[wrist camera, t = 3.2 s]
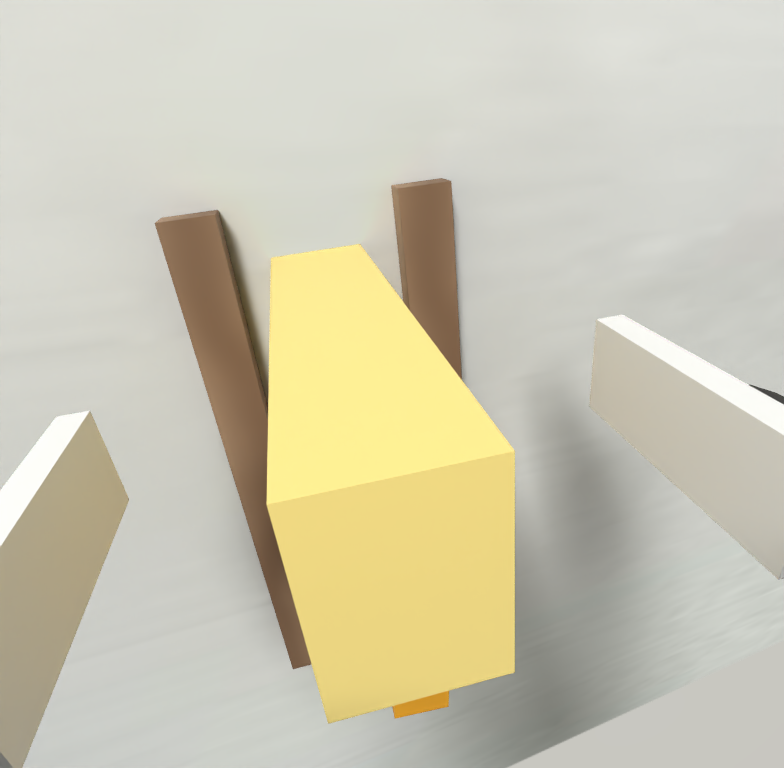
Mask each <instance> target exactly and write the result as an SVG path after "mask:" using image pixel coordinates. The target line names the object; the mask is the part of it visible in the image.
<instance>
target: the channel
mask: <svg viewBox="0 0 784 768" xmlns="http://www.w3.org/2000/svg"><path fill="white" fill-rule="evenodd" d="M391 186H392V196H393V206H394V215H395V225H396V235H397V244H398V254H399V264H400V274H401V283H402V293H403V302H404V304H405V305H406V306H407V308H408V309H409V310H410V312H411V313H412V314H413V316H414V317H415V318H416V320H417V321H418V322H419V324H420V325H421V326H422V328H423V329H424V330H425V332H426V333H427V334H428V336H429V337H430V338H431V340H432V341H433V342H434V344H435V345H436V346H437V348H438V349H439V350H440V352H441V353H442V354H443V356H444V357H445V358H446V360H447V361H448V363H449V364H450V365H451V367H452V368H453V369H454V371H455V372H456V373H457V375H458V376H459V377H460V379H461V380H462V376H461V357H460V338H459V319H458V300H457V281H456V262H455V243H454V225H453V206H452V187H451V181H449V180H446V179H442V178H441V179H433V180H426V181H419V182H412V183H405V184H398V185H391ZM155 226H156V229H157V232H158V235H159V239H160V242H161V245H162V248H163V251H164V255H165V258H166V261H167V264H168V268H169V271H170V274H171V277H172V281H173V284H174V287H175V290H176V293H177V297H178V300H179V303H180V306H181V310H182V313H183V316H184V319H185V322H186V326H187V329H188V332H189V335H190V339H191V342H192V345H193V348H194V351H195V355H196V358H197V361H198V364H199V368H200V371H201V374H202V377H203V380H204V384H205V387H206V390H207V393H208V397H209V400H210V403H211V406H212V409H213V413H214V416H215V419H216V422H217V426H218V429H219V432H220V435H221V438H222V442H223V445H224V448H225V451H226V455H227V458H228V461H229V464H230V468H231V471H232V474H233V477H234V480H235V484H236V487H237V490H238V493H239V497H240V500H241V503H242V506H243V509H244V513H245V516H246V519H247V522H248V526H249V529H250V532H251V535H252V538H253V542H254V545H255V548H256V551H257V555H258V558H259V561H260V564H261V567H262V571H263V574H264V577H265V580H266V584H267V587H268V590H269V593H270V596H271V600H272V603H273V606H274V609H275V613H276V616H277V619H278V622H279V626H280V629H281V632H282V635H283V638H284V642H285V645H286V648H287V651H288V655H289V658H290V661H291V664H292V667H293V669H295V668H299V667H303V666H307V665H311V660H310V657H309V653H308V650H307V646H306V643H305V639H304V636H303V632H302V629H301V625H300V621H299V618H298V614H297V611H296V607H295V604H294V600H293V597H292V593H291V590H290V586H289V582H288V579H287V575H286V572H285V568H284V565H283V561H282V558H281V554H280V551H279V547H278V543H277V540H276V536H275V533H274V529H273V526H272V522H271V519H270V515H269V512H268V508H267V452H268V406H267V402H266V398H265V394H264V390H263V386H262V382H261V378H260V374H259V370H258V366H257V362H256V358H255V354H254V351H253V347H252V343H251V339H250V335H249V331H248V327H247V323H246V319H245V315H244V311H243V307H242V303H241V299H240V295H239V291H238V287H237V283H236V279H235V275H234V271H233V267H232V263H231V260H230V256H229V252H228V248H227V244H226V240H225V236H224V232H223V228H222V224H221V220H220V216H219V212H218V210H214V211H207V212H200V213H193V214H186V215H179V216H171V217H164V218H161V219H159V220H158V221H157V222H156V223H155Z"/></svg>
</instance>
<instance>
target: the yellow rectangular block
mask: <svg viewBox="0 0 784 768" xmlns="http://www.w3.org/2000/svg"><path fill="white" fill-rule="evenodd" d="M267 508H268V512H269V515H270V519H271V522H272V526H273V529H274V533H275V536H276V540H277V543H278V547H279V551H280V554H281V558H282V561H283V565H284V568H285V572H286V575H287V579H288V582H289V586H290V590H291V593H292V597H293V600H294V604H295V607H296V611H297V614H298V618H299V621H300V625H301V629H302V632H303V636H304V639H305V643H306V646H307V650H308V653H309V657H310V660H311V664H312V667H313V671H314V675H315V678H316V682H317V685H318V689H319V692H320V696H321V699H322V703H323V706H324V710H325V714H326V717H327V721H328V724H329V723H333V722H336V721H340V720H344V719H347V718H351V717H355V716H358V715H362V714H366V713H369V712H373V711H376V710H380V709H384V708H387V707H391V706H395V705H398V704H402V703H406V702H409V701H413V700H416V699H420V698H424V697H427V696H431V695H435V694H438V693H442V692H446V691H449V690H453V689H456V688H460V687H464V686H467V685H471V684H475V683H478V682H482V681H485V680H489V679H493V678H496V677H500V676H504V675H507V674H511V673H515V451H514V449H513V448H512V447H511V445H510V444H509V443H508V441H507V440H506V439H505V437H504V436H503V435H502V433H501V432H500V431H499V429H498V428H497V427H496V425H495V424H494V423H493V421H492V420H491V419H490V417H489V416H488V415H487V413H486V412H485V411H484V409H483V408H482V407H481V405H480V404H479V403H478V401H477V400H476V399H475V397H474V396H473V395H472V393H471V392H470V391H469V389H468V388H467V387H466V385H465V384H464V383H463V381H462V380H461V379H460V377H459V376H458V375H457V373H456V372H455V371H454V369H453V368H452V367H451V365H450V364H449V363H448V361H447V360H446V358H445V357H444V356H443V354H442V353H441V352H440V350H439V349H438V348H437V346H436V345H435V344H434V342H433V341H432V340H431V338H430V337H429V336H428V334H427V333H426V332H425V330H424V329H423V328H422V326H421V325H420V324H419V322H418V321H417V320H416V318H415V317H414V316H413V314H412V313H411V312H410V310H409V309H408V308H407V306H406V305H405V304H404V302H403V301H402V300H401V298H400V297H399V296H398V294H397V293H396V292H395V290H394V289H393V288H392V286H391V285H390V284H389V282H388V281H387V280H386V278H385V277H384V276H383V274H382V273H381V272H380V270H379V269H378V268H377V266H376V265H375V264H374V262H373V261H372V260H371V258H370V257H369V256H368V254H367V253H366V252H365V250H364V249H363V248H362V246H361V245H360V244H357V245H351V246H344V247H338V248H331V249H325V250H318V251H312V252H306V253H299V254H293V255H286V256H280V257H273V258H271V287H270V342H269V397H268V452H267Z"/></svg>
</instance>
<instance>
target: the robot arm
mask: <svg viewBox="0 0 784 768" xmlns="http://www.w3.org/2000/svg"><path fill="white" fill-rule="evenodd" d="M589 407H590V408H591V409H592V410H593V411H595V412H596V413H597V414H598V415H599V416H600V417H601V418H602V419H603V420H604V421H606V422H607V423H608V424H609V425H610V426H611V427H612V428H613V429H614V430H615V431H616V432H618V433H619V434H620V435H621V436H622V437H623V438H624V439H625V440H626V441H627V442H628V443H630V444H631V445H632V446H633V447H634V448H635V449H636V450H637V451H638V452H639V453H641V454H642V455H643V456H644V457H645V458H646V459H647V460H648V461H649V462H650V463H651V464H653V465H654V466H655V467H656V468H657V469H658V470H659V471H660V472H661V473H662V474H663V475H665V476H666V477H667V478H668V479H669V480H670V481H671V482H672V483H673V484H674V485H675V486H677V487H678V488H679V489H680V490H681V491H682V492H683V493H684V494H685V495H686V496H688V497H689V498H690V499H691V500H692V501H693V502H694V503H695V504H696V505H697V506H698V507H700V508H701V509H702V510H703V511H704V512H705V513H706V514H707V515H708V516H709V517H710V518H712V519H713V520H714V521H715V522H716V523H717V524H718V525H719V526H720V527H721V528H723V529H724V530H725V531H726V532H727V533H728V534H729V535H730V536H731V537H732V538H733V539H735V540H736V541H737V542H738V543H739V544H740V545H741V546H742V547H743V548H744V549H745V550H747V551H748V552H749V553H750V554H751V555H752V556H753V557H754V558H755V559H756V560H758V561H759V562H760V563H761V564H762V565H763V566H764V567H765V568H766V569H767V570H768V571H770V572H771V573H772V574H773V575H774V576H775V577H776V578H777V579H778V580H779V579H783V578H784V397H783V396H781V395H779V394H777V393H775V392H771V391H768V390H765V389H762V388H759V387H756V386H753V385H748V384H746V383H744V382H742V381H740V380H739V379H737V378H735V377H733V376H732V375H730V374H728V373H726V372H724V371H723V370H721V369H719V368H717V367H715V366H714V365H712V364H710V363H708V362H706V361H705V360H703V359H701V358H699V357H697V356H696V355H694V354H692V353H690V352H689V351H687V350H685V349H683V348H681V347H680V346H678V345H676V344H674V343H672V342H671V341H669V340H667V339H665V338H663V337H662V336H660V335H658V334H656V333H654V332H653V331H651V330H649V329H647V328H646V327H644V326H642V325H640V324H638V323H637V322H635V321H633V320H631V319H629V318H628V317H626V316H624V315H618V316H612V317H606V318H601V319H596V330H595V342H594V355H593V367H592V380H591V392H590V404H589ZM128 501H129V498H128V496H127V494H126V491H125V489H124V487H123V485H122V482H121V480H120V478H119V476H118V473H117V471H116V469H115V466H114V464H113V462H112V460H111V457H110V455H109V453H108V451H107V448H106V446H105V444H104V442H103V439H102V437H101V435H100V432H99V430H98V428H97V426H96V423H95V421H94V419H93V417H92V414H91V412H90V411H85V412H80V413H74V414H69V415H63V416H57V417H56V418H55V419H54V420H53V422H52V423H51V424H50V426H49V427H48V428H47V430H46V431H45V432H44V434H43V435H42V436H41V438H40V439H39V440H38V442H37V443H36V444H35V446H34V447H33V448H32V449H31V451H30V452H29V453H28V455H27V456H26V457H25V459H24V460H23V461H22V463H21V464H20V465H19V467H18V468H17V469H16V471H15V472H14V473H13V475H12V476H11V477H10V478H9V480H8V481H7V482H6V484H5V485H4V486H3V488H2V489H1V490H0V768H22V767H23V764H24V762H25V759H26V757H27V754H28V752H29V749H30V747H31V744H32V742H33V739H34V737H35V734H36V732H37V729H38V727H39V724H40V722H41V719H42V717H43V714H44V712H45V709H46V707H47V704H48V702H49V699H50V697H51V694H52V692H53V689H54V687H55V684H56V682H57V679H58V677H59V674H60V672H61V669H62V667H63V664H64V662H65V659H66V657H67V654H68V652H69V649H70V647H71V644H72V642H73V639H74V637H75V634H76V631H77V629H78V626H79V624H80V621H81V619H82V616H83V614H84V611H85V609H86V606H87V604H88V601H89V599H90V596H91V594H92V591H93V589H94V586H95V584H96V581H97V579H98V576H99V574H100V571H101V569H102V566H103V564H104V561H105V559H106V556H107V554H108V551H109V549H110V546H111V544H112V541H113V539H114V536H115V534H116V531H117V529H118V526H119V524H120V521H121V519H122V516H123V514H124V511H125V509H126V506H127V504H128Z"/></svg>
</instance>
